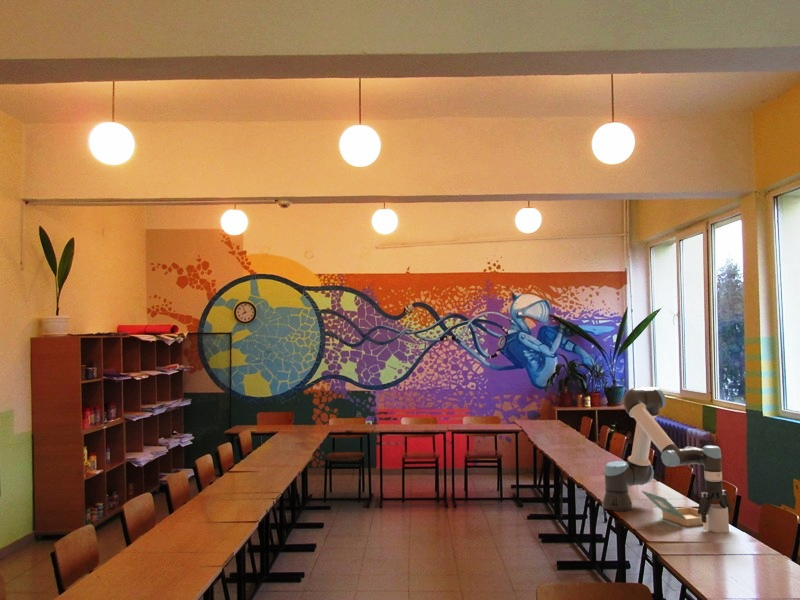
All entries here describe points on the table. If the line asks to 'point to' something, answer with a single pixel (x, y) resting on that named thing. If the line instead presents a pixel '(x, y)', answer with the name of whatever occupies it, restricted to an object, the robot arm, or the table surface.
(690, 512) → the box
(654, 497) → the lid
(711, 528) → the mug
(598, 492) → the table surface
